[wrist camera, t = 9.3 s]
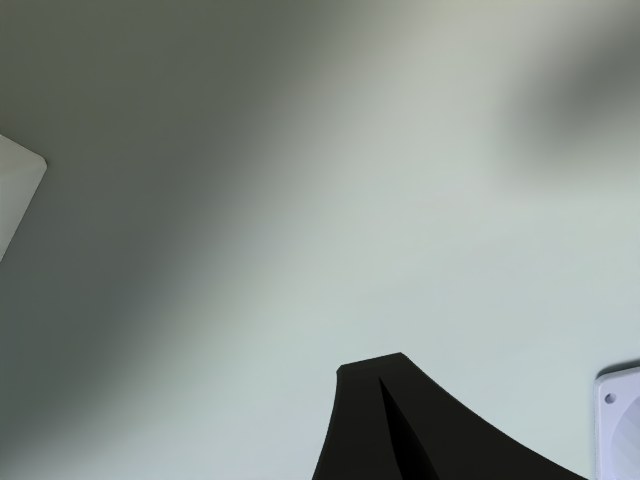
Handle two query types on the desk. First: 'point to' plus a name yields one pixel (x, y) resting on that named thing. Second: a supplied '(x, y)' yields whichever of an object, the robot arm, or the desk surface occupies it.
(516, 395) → the desk surface
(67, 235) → the desk surface
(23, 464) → the desk surface
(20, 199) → the gable box
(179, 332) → the desk surface
